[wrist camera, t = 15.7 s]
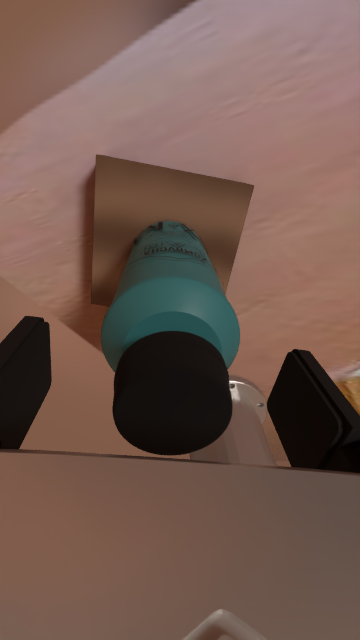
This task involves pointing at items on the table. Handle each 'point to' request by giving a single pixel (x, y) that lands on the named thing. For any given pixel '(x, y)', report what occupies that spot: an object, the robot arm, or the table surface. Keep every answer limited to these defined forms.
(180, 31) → the table surface
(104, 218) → the walnut plinth
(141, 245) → the beverage bottle
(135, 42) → the table surface
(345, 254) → the table surface
